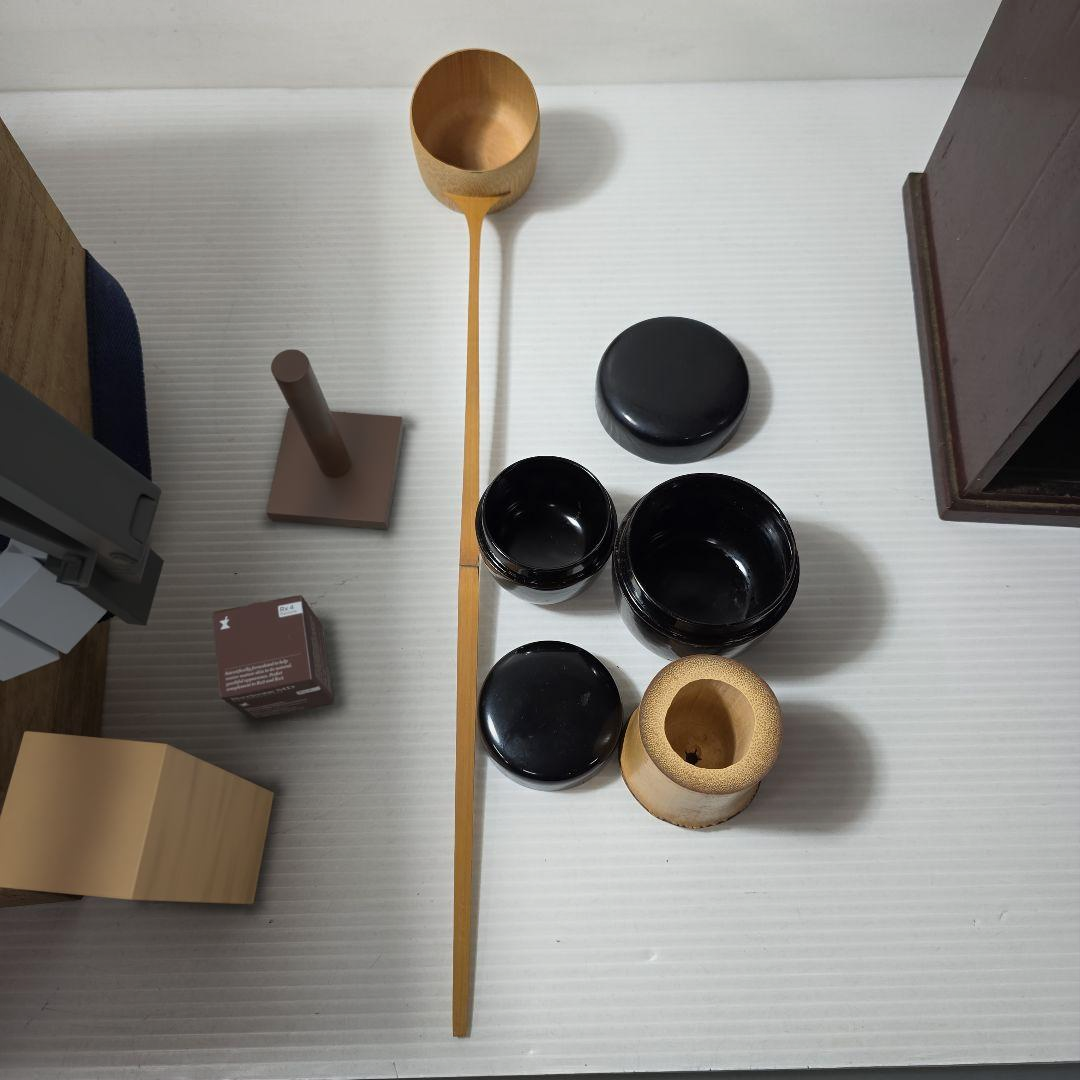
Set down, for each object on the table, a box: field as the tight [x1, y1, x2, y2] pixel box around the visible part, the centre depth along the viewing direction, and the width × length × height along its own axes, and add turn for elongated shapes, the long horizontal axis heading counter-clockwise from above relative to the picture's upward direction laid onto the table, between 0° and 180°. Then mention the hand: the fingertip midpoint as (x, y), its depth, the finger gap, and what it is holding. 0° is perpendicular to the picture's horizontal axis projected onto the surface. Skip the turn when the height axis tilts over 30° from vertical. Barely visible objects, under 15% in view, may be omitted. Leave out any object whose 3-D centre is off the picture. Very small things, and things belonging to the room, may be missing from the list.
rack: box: [265, 348, 405, 531], centre depth 67 cm, size 9×9×16 cm
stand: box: [0, 730, 275, 905], centre depth 55 cm, size 7×7×20 cm
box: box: [211, 594, 334, 720], centre depth 65 cm, size 6×6×7 cm
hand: (28, 578), depth 38 cm, fingers closed on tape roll, 9 cm apart
